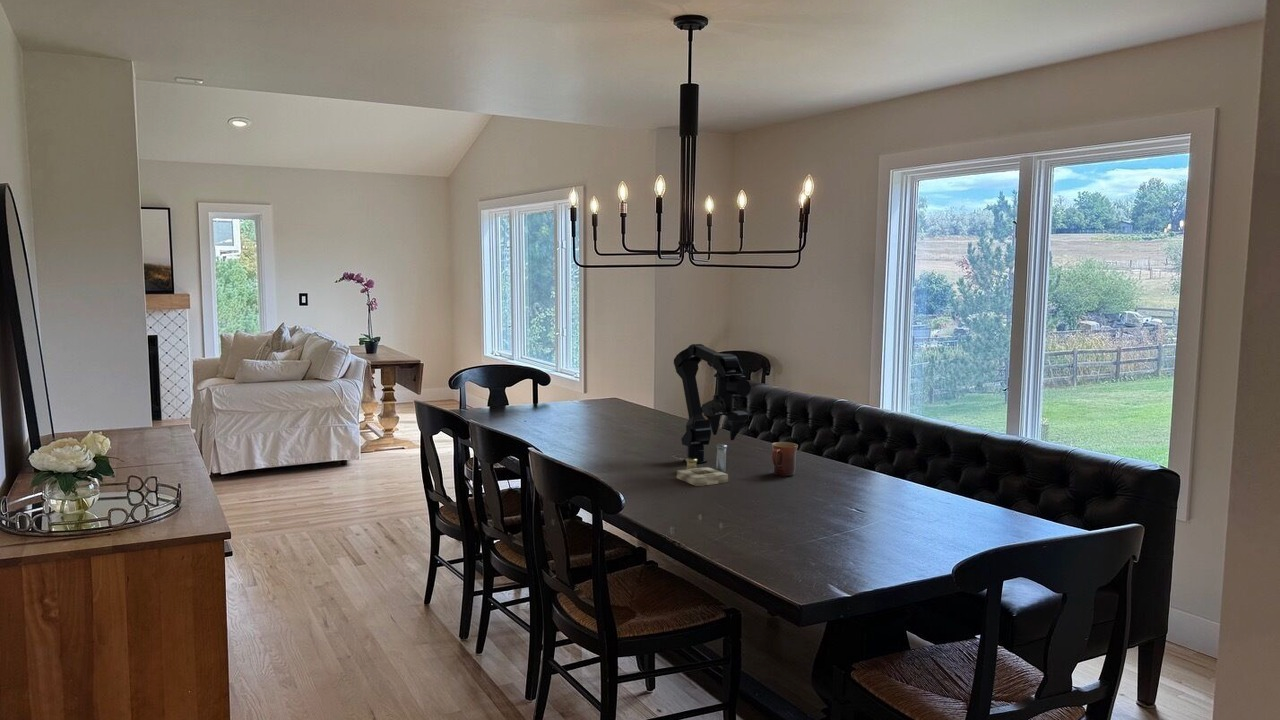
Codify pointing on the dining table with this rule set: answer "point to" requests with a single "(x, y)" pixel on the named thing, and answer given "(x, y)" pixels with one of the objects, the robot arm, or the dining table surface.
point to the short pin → (691, 463)
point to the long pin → (721, 457)
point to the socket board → (702, 476)
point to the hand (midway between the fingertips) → (723, 437)
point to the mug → (784, 458)
